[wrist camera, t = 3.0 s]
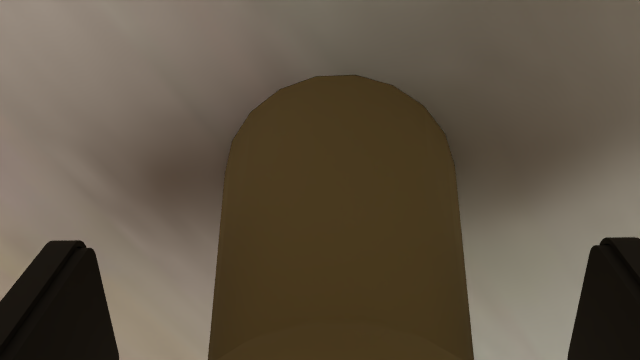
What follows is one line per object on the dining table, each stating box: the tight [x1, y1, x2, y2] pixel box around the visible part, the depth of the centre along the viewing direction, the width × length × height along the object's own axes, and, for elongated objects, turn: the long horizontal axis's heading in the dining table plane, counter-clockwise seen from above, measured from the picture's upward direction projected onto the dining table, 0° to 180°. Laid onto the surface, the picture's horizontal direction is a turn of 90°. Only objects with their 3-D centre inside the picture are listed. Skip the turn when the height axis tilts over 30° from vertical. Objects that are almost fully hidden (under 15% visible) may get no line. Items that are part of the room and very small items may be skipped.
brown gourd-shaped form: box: [208, 75, 474, 360], centre depth 11 cm, size 6×6×11 cm
